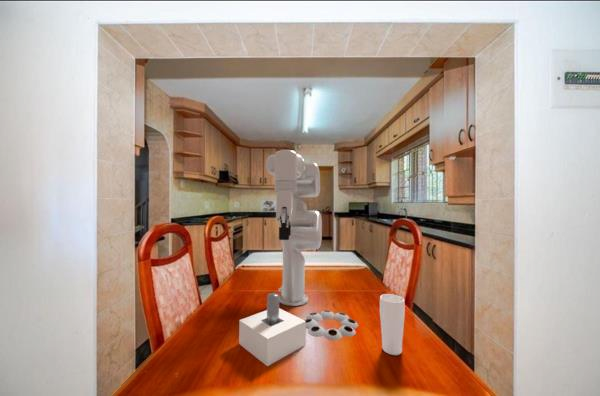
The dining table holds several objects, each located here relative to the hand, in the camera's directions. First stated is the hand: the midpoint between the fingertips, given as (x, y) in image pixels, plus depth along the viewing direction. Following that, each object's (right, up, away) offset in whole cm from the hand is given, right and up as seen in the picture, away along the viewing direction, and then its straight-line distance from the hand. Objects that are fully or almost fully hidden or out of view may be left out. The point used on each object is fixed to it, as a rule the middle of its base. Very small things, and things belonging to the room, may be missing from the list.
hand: (285, 237), depth 84 cm
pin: (-3, -28, -10) cm, 30 cm away
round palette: (+15, -31, +2) cm, 35 cm away
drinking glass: (+31, -31, -13) cm, 46 cm away
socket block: (-3, -30, -10) cm, 32 cm away
